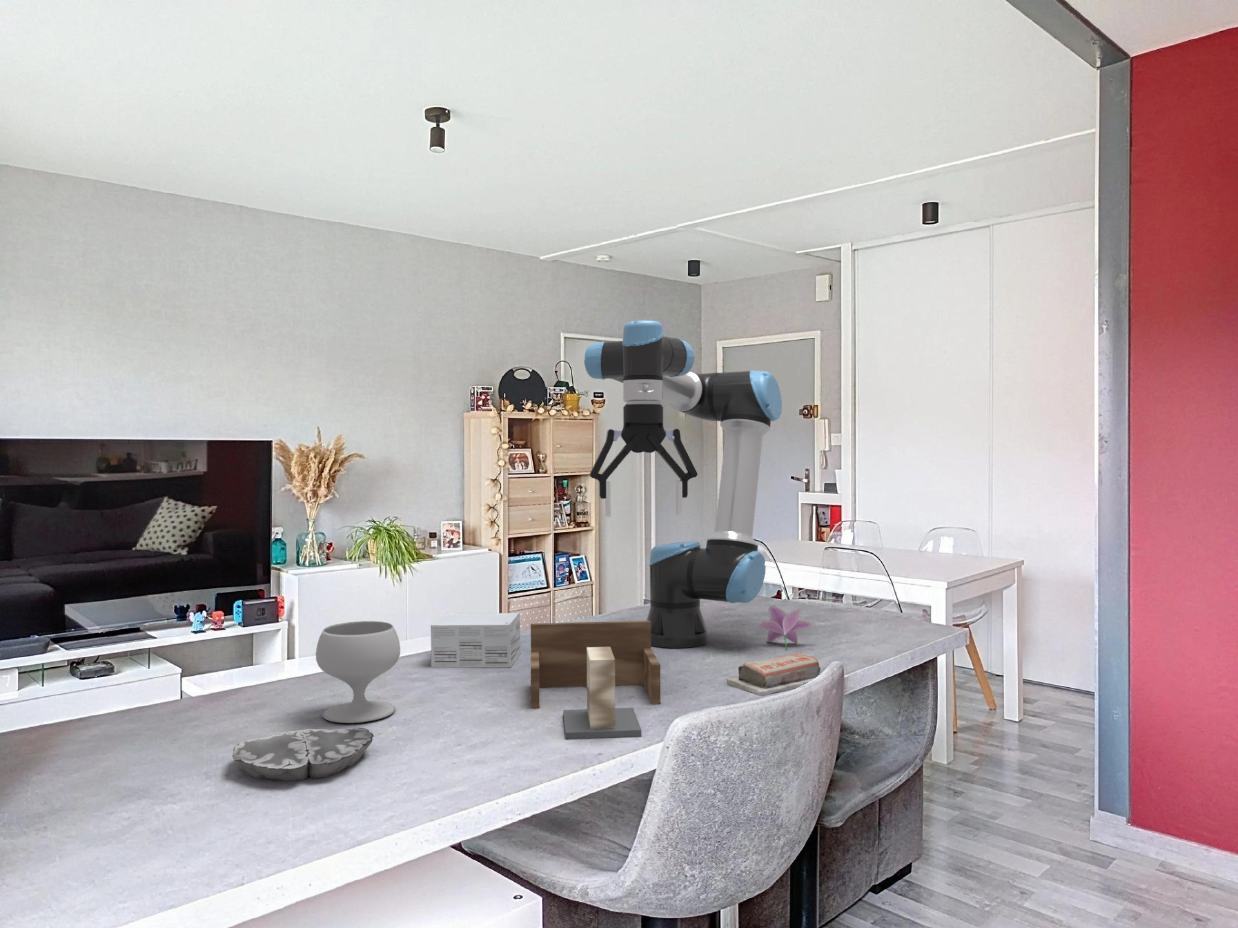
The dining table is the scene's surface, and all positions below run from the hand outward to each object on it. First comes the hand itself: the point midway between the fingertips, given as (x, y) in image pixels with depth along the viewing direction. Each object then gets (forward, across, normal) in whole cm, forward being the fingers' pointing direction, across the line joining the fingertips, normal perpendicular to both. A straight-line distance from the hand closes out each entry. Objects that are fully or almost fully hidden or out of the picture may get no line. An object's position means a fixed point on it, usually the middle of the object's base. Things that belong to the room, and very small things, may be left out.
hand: (643, 515), depth 169 cm
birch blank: (+32, -10, -22) cm, 40 cm away
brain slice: (+33, -54, -35) cm, 72 cm away
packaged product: (+33, +26, 0) cm, 42 cm away
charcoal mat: (+33, -10, -22) cm, 41 cm away
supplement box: (+33, -33, +25) cm, 53 cm away
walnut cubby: (+33, -10, -4) cm, 34 cm away
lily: (+33, +36, +30) cm, 58 cm away
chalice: (+33, -51, -11) cm, 62 cm away
